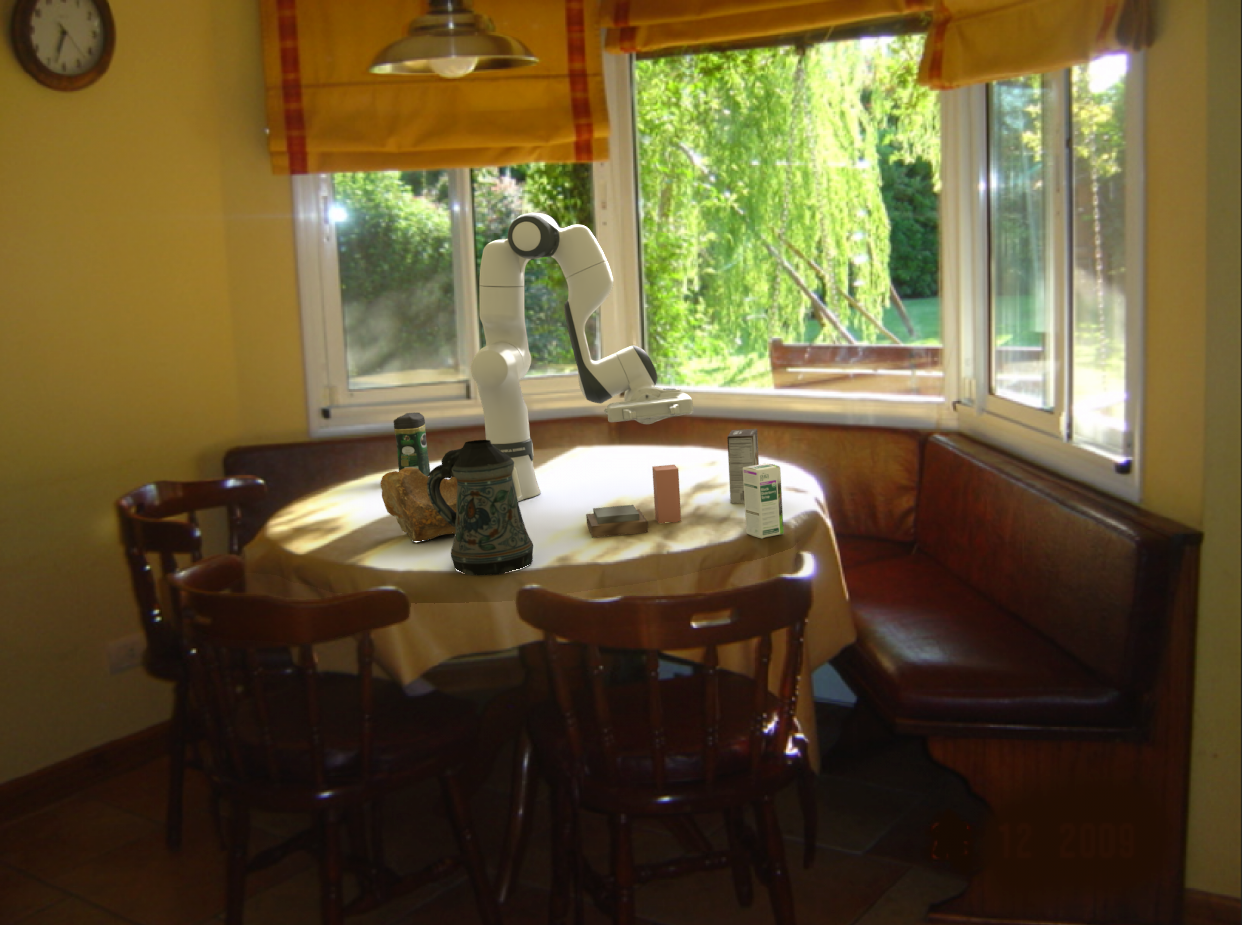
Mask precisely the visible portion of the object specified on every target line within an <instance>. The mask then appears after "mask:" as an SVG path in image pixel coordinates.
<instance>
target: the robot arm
mask: <svg viewBox="0 0 1242 925" xmlns="http://www.w3.org/2000/svg"><path fill="white" fill-rule="evenodd" d="M542 258H543V259H544V258H552V259H554V260H555V261H556V262H557V263H558V265H559V267H560V269H561V271H562V274H563V276H564V279H565V281H566V283H567V288H568V297H567V300H565V303H564V305H563V311H564V318H565V323H566V325H567V326H566V328H567V332H568V338H569V340H570V344H571V348H572V352H573V356H574V360H575V364H576V366H577V367H576V368H577V376H578V377H577V378H578V379H577V380H578V386H579V389H580V391H581V393H582V395H583V397H584V398H585V399H586V400H587V401H589V402H591V403H595V404H598V405H599V404H601V405H602V404H603V403H605V402H607V401H608V400H611V399H612V398H613V397H615V396H617V395H620V394H622V393H624V397H623V401H618V402H612V403H609V404H607V407H606V408H604V410H603V411H604V413H605V414H607V420H608V421H607V422H609V423H617V422H626V421H627V422H628V421H636V422H638V423H639V424H641V425H642V424H643V425H650V424H654V423H656V422H659V421H663V420H665V419H669V418H674V417H678V416H683V415H691V414H693V413H694V404H693V399H692V397H691V396H690V395H689V394H687V393H686V392H683V391H682V389H681V388H679V387H678V388H675V387H674V388H672V387H671V388H662V387H657V382H658V374H657V371H656V368H655V365H654V363H653V362H652V361H653V360H652V359H651V358H650V356H649V355H648V353H647V352H646V351H645V350H644V349H643V348H641V347H639V346H637V345H634V344H632V345H630V346H627V347H624V348H622V349H620V350H618V351H616V352H613V353H612V354H610V355H608V356H605V357H603V358H600V359H598V360H593V359H592V357H591V352H590V348H589V345H588V340H587V336H586V330H585V328H586V324H587V321H588V320H589V319H590V317H591V316H592V315H593V313H595V311H597V309H599V307H600V306H602V305H603V304H604V303H605V301H606V300H607V299H608V298H609V296H610V295H611V293H612V291H613V288H614V277H613V272H612V269H611V267H610V264H609V262H608V260H607V257H606V255H605V253H604V251H603V249H602V247H601V246H600V244H599V242H598V240H597V238H596V237H595V236H594V233H593V232H592V231H591V229H590V228H588V226H585V225H583V224H572V225H570V226H567V227H563V228H561V227H560V224H559V223H558V221H557V219H556V218H554V217H553V216H552V215H550V214H548V213H542V212H539V211H532V212H526V213H524V214H523V213H522V214H521V215H518V216H517V217H516V218H514V219H513V220H512V221H511V223H510V225H509V227H508V231H507V238H506V239H496V240H493V241H491V242H489V243H487V244H486V245H485V246H484V248H483V251H482V256H481V261H480V267H479V319H480V322H481V323H482V327H483V333H484V339H485V346H483V347H481V349H479V350H478V351H477V352H476V354H475V355H474V357H473V358H472V361H471V365H470V373H471V376H472V378H473V380H474V381H475V384H476V387H477V388H476V389H477V391H478V396H479V398H480V401H481V406H482V411H483V418H484V430H485V440H490V441H491V444H492V445H494V446H495V447H496V448H497V449H498V450H500V451H502V452H503V453H505V454H506V455H508V456H509V457H510V458H511V459H512V460H513V461H514V470H513V472H512V478H513V482H514V486H515V491H516V496H517V499H518V502H520V501H522V500H525V499H529V498H533V497H536V496H539V495H540V493H541V492H542V491H541V489H540V486H539V483H538V480H537V476H536V472H535V468H534V462H533V461H534V445H533V440H532V438H531V435H530V423H529V420H530V419H529V410H528V405H527V403H526V402H525V399H524V396H523V390H522V387H521V380H522V379H523V378H524V377H525V376H526V375H527V374H528V372H529V370H530V366H532V365H531V363H532V356H531V352H530V350H529V347H530V346H529V341H528V340H529V338H528V334H527V327H526V326H527V325H526V320H525V318H526V317H525V272H526V271H525V270H526V266H527V264H528V263H529V262H530V261H534V260H539V259H542Z"/></svg>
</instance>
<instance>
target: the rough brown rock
mask: <svg viewBox="0 0 1242 925" xmlns="http://www.w3.org/2000/svg"><path fill="white" fill-rule="evenodd" d="M428 478H429V476H425V475H424V474H423V473H421V471H420V470H419V469H417V468H412V467H409V468H404V469H401V470H400V471H399V470H398V471H397V470H394V471H389V472H387V473H385V474H383V475H382V476H381V480H380V482H379V483H380V488H381V498H382V501H383V504H384V507H385V509H386V512H387V513H388V514H390V515H391V516H393V517H395V519H396V522H397V524H398V525H399V527H400V529H401V531H402V532H403V531H404V532H403V533H405V532H407V533H408V534H407V533H406V534H407V535H408V536H409V538H410V540H411V541H412V540H413V541H422V540H427V541H429V540H428V539H430V540H432V539H435V538H437V537H439V536H444V535H451V534H453V535H455V530H456V528H455V527H453V526H452V525H450V524H449V523H448V522H447V521H446V520H445V519H444V518H443V517H442V516H441V515H440V514H439V513H438V512H437V511H436V509H435V508H434V506H433V505H432V503H431V501H430V499H429V496H428V492H427V481H428ZM440 493H441V495H442V497H443V498H444V500H445V501H446V503H447V504H448V505H449V506H450V507H451V508H452V509H453V510H454V511H455V512H456V505H457V479H456V478H455V477H451V478H444V479H443V480H442V481H441V484H440Z"/></svg>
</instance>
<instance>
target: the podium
mask: <svg viewBox="0 0 1242 925" xmlns="http://www.w3.org/2000/svg"><path fill="white" fill-rule="evenodd" d="M592 510H593V511H592V513H586V514H585V517H586V526H587V528H588V530H589V532H590V535H591V537H592V538H593V537H594V538H604V537H605V538H606V537H612V536H623V535H624V536H625V535H633V534H636V535H637V534H646V533H647V532H648V533H649V526H648V525H649V524H648V520H647V518H646V517H645V514H643V513H642V511H641V510H640V508H639V509H638V508H636V506H635V505H634V504H629V505H628V504H626V505H625V504H624V505H615V506H606V507H605V506H604V507H602V506H601V507H593V508H592Z"/></svg>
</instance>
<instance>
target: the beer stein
mask: <svg viewBox="0 0 1242 925" xmlns="http://www.w3.org/2000/svg"><path fill="white" fill-rule="evenodd" d="M440 461H441V464H439V465H437V466H435V467H434V468H433V469H432V470H430V473H429V475H428V477H429V478H428V481H427V492H428V496H429V499H430V501H431V503H432V505H433V506H434V508H435V509H436V511H437V512H438V513H439V514H440V515H441V516H442V517H443V518H444V519H445V520H446V521H447V522H448V523H449V524H450V525H452V526H453V527H455V528H456V530H455V534H454V539H453V542H452V547H451V550H450V559H451V562H452V563H453V566H454V569H455V568H456V569H457V570H459V571H461V572H463V573H465V574H468V575H467V576H475V577H476V576H477V577H479V576H480V577H482V576H484V577H485V576H499V575H505V574H504V573H505V572H509V571H512V570H516V569H520V568H523V567H525V566H527V565H529V564H531V565H532V563H531V562H533V560H532V559H533V552H534V543H533V541H532V539H531V538H530V534H528V531H527V528H526V525H525V523H524V519H523V516H522V513H521V508H520V504H519V501H518V499H517V496H516V491H515V486H514V482H513V478H512V472H513V470H514V461H513V460H512V459H511V458H510V457H509V456H508V455H506V454H505V453H503V452H502V451H500V450H498V449H497V448H496V447H495V446H494V445H492V444H491V441H490V440H486V439H478V440H476V439H475V440H468V441H465V442H464V444H463V446H462V447H461V448H458V449H453V450H452V449H451V450H448V451H447V452H445V453H444V456H443V457H442V458H441V460H440ZM451 477H455V478H456V479H457V505H456V512H455V511H454V510H453V509H452V508H451V507H450V506H449V505H448V504H447V503H446V501H445V500H444V498H443V497H442V495H441V493H440V484H441V481H442V480H443V479H444V478H445V479H450V478H451ZM529 566H530V565H529ZM527 567H528V566H527ZM525 568H526V567H525ZM465 574H464V575H465ZM469 574H470V575H469Z"/></svg>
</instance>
